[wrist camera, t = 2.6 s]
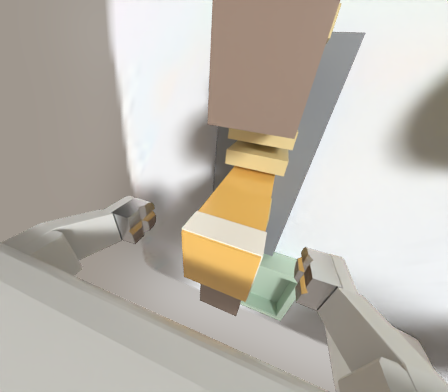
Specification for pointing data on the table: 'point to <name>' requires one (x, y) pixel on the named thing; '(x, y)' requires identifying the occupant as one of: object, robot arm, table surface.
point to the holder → (273, 96)
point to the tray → (273, 286)
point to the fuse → (229, 233)
